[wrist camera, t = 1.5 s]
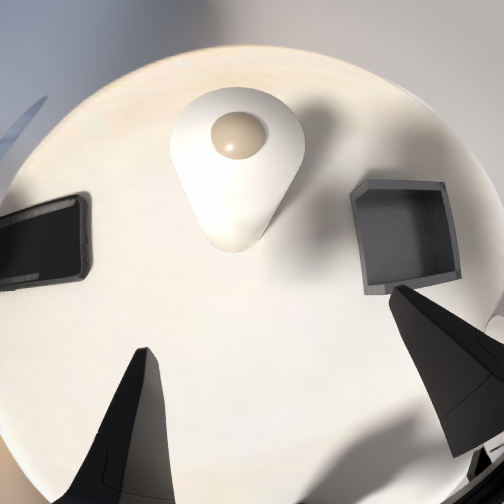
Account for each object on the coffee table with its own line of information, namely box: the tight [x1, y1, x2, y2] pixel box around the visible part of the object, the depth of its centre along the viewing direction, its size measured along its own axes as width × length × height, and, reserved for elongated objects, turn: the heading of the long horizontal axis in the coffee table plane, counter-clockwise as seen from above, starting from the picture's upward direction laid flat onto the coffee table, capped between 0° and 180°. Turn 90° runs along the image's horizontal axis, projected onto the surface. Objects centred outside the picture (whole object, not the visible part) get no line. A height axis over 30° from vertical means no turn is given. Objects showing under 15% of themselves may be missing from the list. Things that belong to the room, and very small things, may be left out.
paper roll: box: [169, 87, 305, 253], centre depth 16 cm, size 5×5×13 cm
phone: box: [0, 195, 89, 292], centre depth 21 cm, size 8×1×15 cm
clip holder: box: [350, 180, 462, 295], centre depth 22 cm, size 9×9×4 cm
